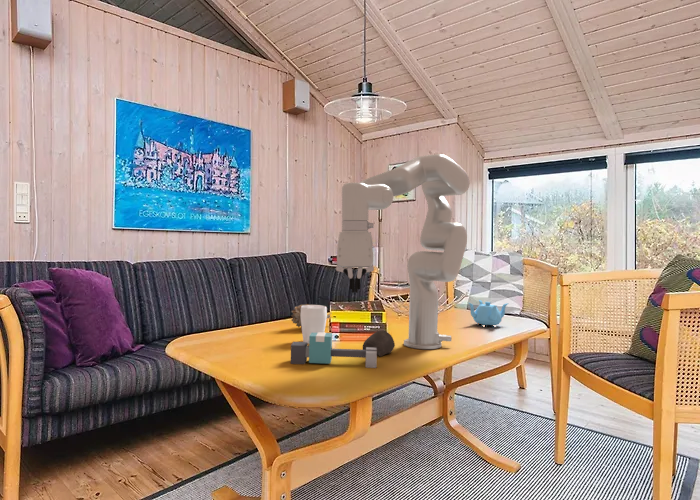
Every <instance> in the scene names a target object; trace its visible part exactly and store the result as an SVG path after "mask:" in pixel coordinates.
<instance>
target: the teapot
mask: <svg viewBox="0 0 700 500" xmlns="http://www.w3.org/2000/svg"><path fill="white" fill-rule="evenodd" d="M478 302H479V305H478V306H477V307H476V309H475V308H474V304H473V303H471V302H468V304H469V306H470V316H471V317H472V318H473V321H474V323H477V324H478V323H479V324H482V325H486V326H492V325H497V326H498V325H499V324H500V323H501V322H502V320H503V318H504V316H505V314H506V307H507V306H508V305H509V303H507V302H506V303H504V304H503V305H502V306H501V310H500V309H499V308H498V307H497V306H498V305H495V304H491V301H485V302H484V303H483V300H481V299H478ZM482 325H481V326H482Z"/></svg>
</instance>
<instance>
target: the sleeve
mask: <svg viewBox="0 0 700 500" xmlns="http://www.w3.org/2000/svg"><path fill="white" fill-rule="evenodd" d="M308 346H309V357H308V363H309V364H330V365H331V362H332V360H333V358H332V357H333V356H331V349H333V333H332V332H325V331H324V332H318V333H311V334H310V336H309V344H308Z"/></svg>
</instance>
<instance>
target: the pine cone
mask: <svg viewBox="0 0 700 500" xmlns="http://www.w3.org/2000/svg"><path fill="white" fill-rule="evenodd" d="M304 305H310V304H309V303H306V304H300V305H297V306H295V307H294V309H293V310H291V313H292V314H291V315H290V316H291V317H292V319H291V322H292V324H296V327H298V328H301V329H302V326H301V317H300V314H301V306H304ZM330 314H331V313H330ZM330 314H327V319H330V318H331V317H330Z"/></svg>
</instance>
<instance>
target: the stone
mask: <svg viewBox="0 0 700 500" xmlns="http://www.w3.org/2000/svg"><path fill="white" fill-rule="evenodd" d="M395 344H396V343H395V340H394V338H393V336H392V335H391V333H389V332H388V331H386V330H383V329H382V330H377V331H376V332H374V333H372V334H371V335H369V337H367V338H366V339H365V340H364V342H363V344H362V350H366V347H371V348H376V349H377V356H379V357H383V356H384V355H386V354H387V355H389V354H391V353H392V352H393V350H394V348H395V346H396V345H395Z"/></svg>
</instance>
